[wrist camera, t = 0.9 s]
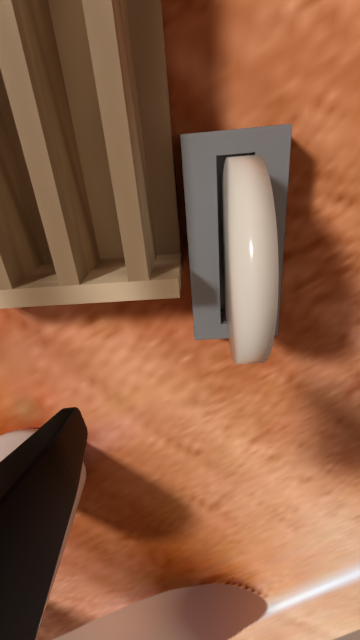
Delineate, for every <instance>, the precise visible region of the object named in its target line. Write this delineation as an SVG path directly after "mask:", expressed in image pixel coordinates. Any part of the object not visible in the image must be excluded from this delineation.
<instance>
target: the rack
mask: <svg viewBox="0 0 360 640" xmlns="http://www.w3.org/2000/svg"><path fill="white" fill-rule="evenodd" d="M182 267H183V262H182V250H181V237H180V225H179V212H178V200H177V188H176V175H175V163H174V151H173V138H172V126H171V113H170V101H169V89H168V76H167V64H166V51H165V39H164V27H163V14H162V2H161V0H0V309H1V308H18V307H35V306H51V305H68V304H85V303H102V302H118V301H135V300H152V299H168V298H180V290H181V279H182Z"/></svg>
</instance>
